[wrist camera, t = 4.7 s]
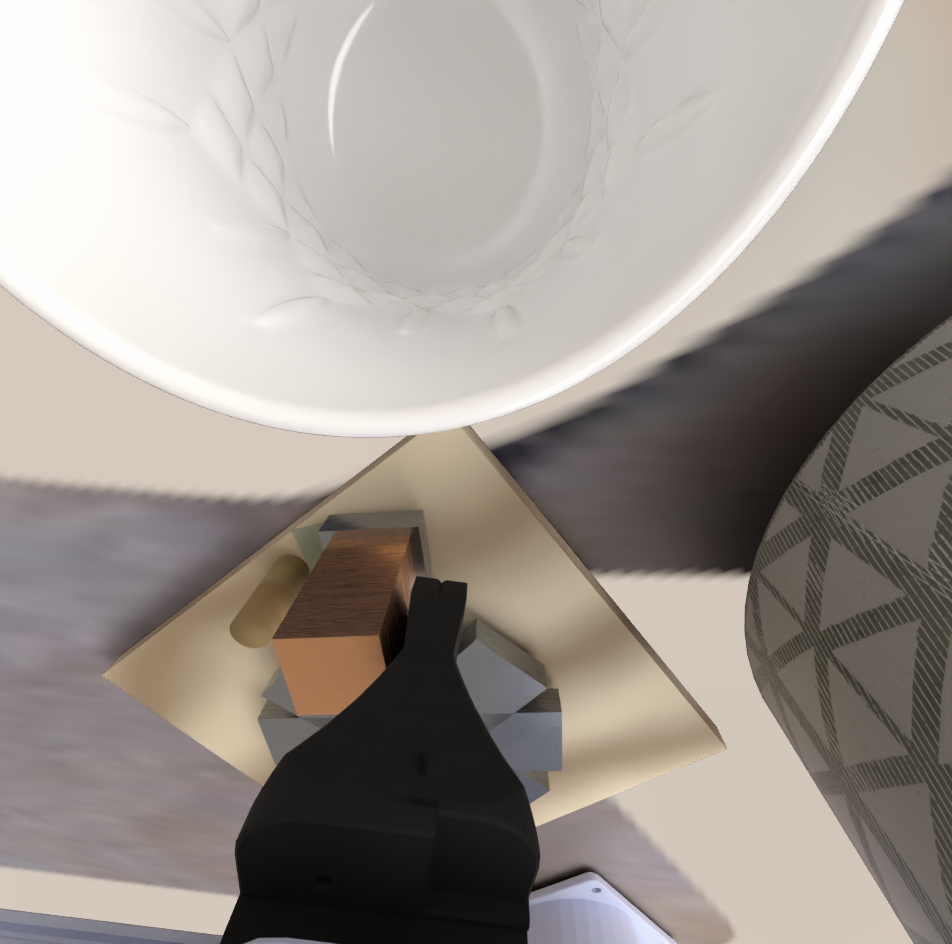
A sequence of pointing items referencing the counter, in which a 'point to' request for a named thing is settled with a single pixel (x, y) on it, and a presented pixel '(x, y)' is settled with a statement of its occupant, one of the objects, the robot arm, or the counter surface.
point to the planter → (872, 628)
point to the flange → (396, 647)
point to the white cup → (399, 186)
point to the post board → (489, 600)
